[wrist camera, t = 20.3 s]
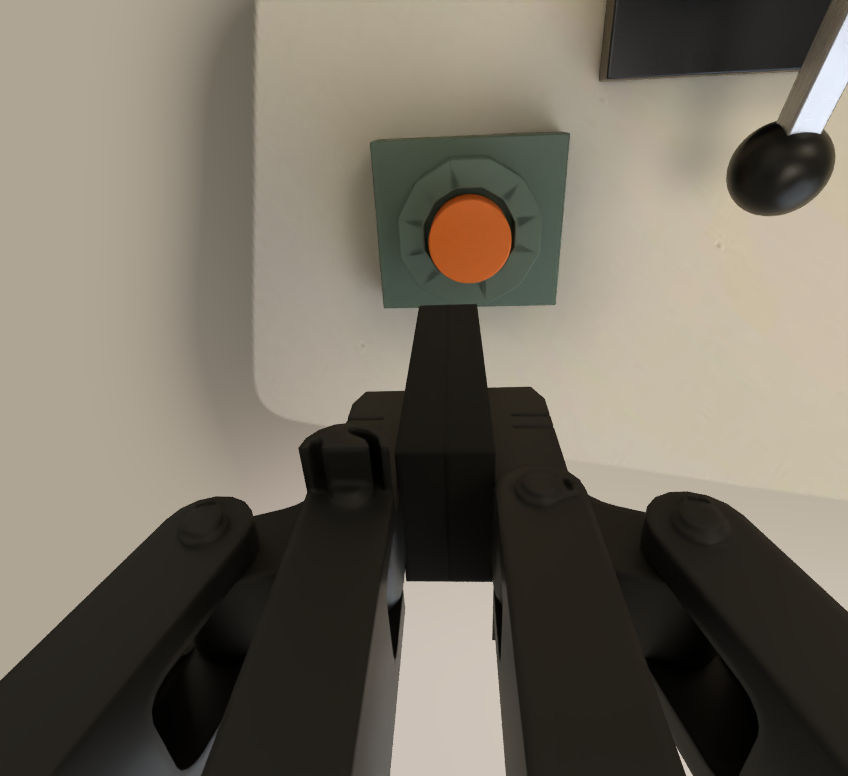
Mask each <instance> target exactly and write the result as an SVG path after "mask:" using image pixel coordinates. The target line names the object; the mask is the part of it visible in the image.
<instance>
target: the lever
mask: <svg viewBox="0 0 848 776" xmlns="http://www.w3.org/2000/svg"><path fill="white" fill-rule="evenodd" d="M847 84H848V0H832V1H831V3H830V5H829V7H828V10H827V12H826V14H825V16H824V18H823V21H822V23H821V25H820V27H819V30H818V32H817V34H816V36H815V38H814V41H813V43H812V45H811V47H810V49H809V52H808V54H807V56H806V58H805V60H804V63H803V65H802V67H801V69H800V71H799V74H798V76H797V78H796V80H795V82H794V85H793V87H792V89H791V91H790V93H789V96H788V98H787V100H786V102H785V104H784V107H783V109H782V111H781V113H780V115H779V118H778V120H777V121H775V122H772V123H769V124H767V125H765V126H763V127H761V128H759V129H757V130H756V131H754V132H753V133H752V134H750V135H749V136H748V137H747V138H746V139H745V140H744V141H743V142H742V143H741V144H740V145H739V146H738V148H737V149H736V150H735V152H734V154H733V155H732V157H731V160H730V162H729V165H728V169H727V177H726V182H727V188H728V191H729V194H730V196H731V198H732V199H733V200H734V202H735V203H736V204H737V205H738V206H739V207H741V208H742V209H743V210H745V211H747V212H749V213H752V214H755V215H761V216H777V215H783V214H786V213H789V212H792V211H795V210H797V209H799V208H801V207H803V206H804V205H806V204H807V203H809V202H810V201H811V200H813V199H814V198H815V197H816V196H817V195H818V194H819V193H820V192H821V191H822V189H823V188H824V187H825V186H826V184H827V182H828V181H829V179H830V177H831V174H832V172H833V169H834V164H835V149H834V145H833V142H832V140H831V138H830V136H829V135H828V134H827V132H826V131H825V130H824V127H825V125H826V123H827V122H828V120H829V118H830V116H831V114H832V112H833V110H834V108H835V106H836V104H837V103H838V101H839V99H840V97H841V95H842V93H843V91H844V89H845V87H846V86H847Z"/></svg>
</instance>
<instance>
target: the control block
mask: <svg viewBox="0 0 848 776" xmlns="http://www.w3.org/2000/svg"><path fill="white" fill-rule="evenodd" d="M569 139H570V133H566V132H540V133H517V134H494V135H472V136H449V137H426V138H404V139H381V140H375V141H372V142H370V147H371V159H372V171H373V184H374V196H375V208H376V220H377V232H378V244H379V256H380V268H381V280H382V292H383V304H384V308H419V306H420V305H453V304H477V306H527V305H555V304H556V293H557V281H558V269H559V257H560V245H561V233H562V222H563V210H564V198H565V186H566V174H567V162H568V151H569ZM464 194H477V195H481V196H484V197H487V198H489V199H490V200H492V201H493V202H495V203H496V204H497V205H498V206H499V208H500V209H501V210H502V212H503V213H504V215H505V218H506V220H507V222H508V224H509V227H510V230H511V238H512V242H511V249H510V253H509V256H508V258H507V260H506V262H505V264H504V265H503V266H502V268H501V269H500V270H499V271H498V272H497V273H496V274H494V275H493V276H491V277H490V278H488V279H486V280H484V281H481V282H476V283H461V282H457V281H454V280H452V279H450V278H448V277H447V276H445V275H444V274H443V273H441V272H440V271H439V269H438V268H437V267H436V266H435V264H434V262H433V260H432V258H431V255H430V251H429V233H430V229H431V225H432V222H433V219H434V217H435V215H436V213H437V212H438V210H439V209H440V208H441V207H442V206H443V205H444V204H445V203H446V202H447V201H449V200H450V199H452V198H454V197H457V196H459V195H464Z"/></svg>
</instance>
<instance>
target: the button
mask: <svg viewBox="0 0 848 776" xmlns="http://www.w3.org/2000/svg"><path fill="white" fill-rule="evenodd" d="M511 242H512V238H511V230H510V227H509V224H508V222H507V220H506V218H505V215H504V213H503V212H502V210H501V209H500V208H499V206H498V205H497V204H496V203H495V202H493V201H492V200H490V199H489V198H487V197H484V196H481V195H477V194H464V195H459V196H457V197H454V198H452V199H450V200H449V201H447V202H446V203H445V204H444V205H443V206H442V207H441V208H440V209H439V210H438V212H437V213H436V215H435V217H434V219H433V222H432V225H431V229H430V233H429V251H430V255H431V258H432V260H433V262H434V264H435V266H436V267H437V268H438V269H439V271H440V272H441V273H443V274H444V275H445V276H447V277H448V278H450V279H452V280H454V281H457V282H461V283H476V282H481V281H484V280H486V279H488V278H490V277H491V276H493V275H494V274H496V273H497V272H498V271H499V270H500V269H501V268H502V266H503V265H504V264H505V262H506V260H507V258H508V256H509V253H510V249H511Z"/></svg>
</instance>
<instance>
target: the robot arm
mask: <svg viewBox="0 0 848 776" xmlns="http://www.w3.org/2000/svg"><path fill="white" fill-rule="evenodd" d="M299 453H300V458H301V463H302V468H303V473H304V478H305V483H306V488H307V495H306V498H305V500H304V501H303V502H301V503H299V504H297V505H295V506H292V507H289V508H286V509H282V510H278V511H274V512H269V513H265V514H261V515H256V516H253V514H252V510H251V509H250V508H249V506H248V505H247V504H246V503H245V502H244V501H242V500H239V499H236V498H234V497H212V498H207V499H203V500H199V501H196V502H194V503H192V504H190V505H188V506H185V507H183V508H181V509H180V510H178V511H177V512H176V513H174V514H173V515H172V516H170V517H169V518H168V519H166V520H165V521H164V522H163V523H162V524H161V525H160V526H159V527H158V528H157V529H156V530H155V531H154V532H153V533H152V534H151V535H150V536H149V537H148V538H147V539H146V540H145V541H144V542H143V543H142V544H141V545H140V546H139V547H137V548H136V549H135V551H133V552H132V553H131V554H130V555H129V556H128V557H127V559H125V560H124V561H123V562H122V563H121V564H120V565H119V566H118V567H117V568H116V569H115V570H114V571H113V572H112V573H111V574H110V575H109V576H108V577H107V578H106V579H105V580H104V581H103V582H101V584H99V585H98V586H97V587H96V588H95V589H94V590H93V591H92V592H91V593H90V594H89V595H88V596H87V597H86V598H85V599H84V600H83V601H82V602H81V603H80V604H79V605H78V606H77V607H76V608H75V609H74V610H73V611H72V612H71V613H69V614H68V615H67V616H66V617H65V618H64V619H63V620H62V621H61V622H60V623H59V624H58V625H57V626H56V627H55V628H54V629H53V630H52V631H51V632H50V633H49V634H48V635H47V636H46V637H45V638H44V639H43V640H42V641H41V642H40V643H39V644H38V645H37V646H36V647H35V648H34V649H32V650H31V651H30V652H29V653H28V654H27V655H26V656H25V657H24V658H23V659H22V660H21V661H20V662H19V663H18V664H17V665H16V666H15V667H14V668H13V669H12V670H11V671H10V672H9V673H8V674H7V675H6V676H5V677H4V678H3V679H2V680H0V776H390V768H391V757H392V745H393V735H394V724H395V713H396V701H397V691H398V681H399V670H400V659H401V648H402V636H403V625H404V615H405V604H404V594H403V583H404V573H405V572H406V581H453V582H454V581H456V582H461V581H462V582H464V581H466V582H493V585H494V593H493V594H494V595H493V635H492V636H493V637H492V640H496V653H497V665H498V678H499V691H500V704H501V716H502V729H503V742H504V753H505V754H504V755H505V767H506V776H686V774H685V771H684V769H683V766H682V763H681V760H680V757H679V754H678V751H677V749H678V750H679V752H680V754H681V755H682V757H683V759H684V760H685V762H686V764H687V766H688V768H689V769H690V771H691V773H692V774H693V776H848V612H847V611H846V610H845V609H844V608H843V607H842V606H841V605H840V604H839V603H838V602H836V601H835V600H834V599H833V598H832V597H831V596H830V595H829V594H828V593H827V592H826V591H825V590H824V589H823V588H821V587H820V586H819V585H818V584H817V583H816V582H815V581H814V580H813V579H812V578H810V576H808V575H807V574H806V573H805V572H804V571H803V570H802V569H801V568H800V567H799V566H798V565H797V564H796V563H794V562H793V561H792V560H791V559H790V558H789V557H788V556H787V555H786V554H785V553H784V552H782V551H781V550H780V549H779V548H778V547H777V546H776V545H775V544H774V543H773V542H772V541H771V540H770V539H768V538H767V537H766V536H765V535H764V534H763V533H762V532H761V531H760V530H759V529H757V527H756V526H754V525H753V524H752V523H751V522H750V521H749V520H748V519H747V518H746V517H745V516H744V515H742V514H741V513H739V512H738V511H737V510H735V509H734V508H732V507H731V506H729V505H728V504H726V503H724V502H722V501H719V500H717V499H714V498H712V497H710V496H707V495H702V494H697V493H691V492H668V493H666V494H663V495H660V496H658V497H655V498H654V499H653V500H652V502H651V503H650V504H649V505H648V506H647V509H646V512H641V511H637V510H632V509H628V508H623V507H618V506H615V505H611V504H608V503H605V502H602V501H600V500H597V499H595V498H593V497H591V496H589V495H588V494H587V491H586V489H585V487H584V486H583V484H582V483H581V481H580V480H579V479H578V478H576V477H575V476H574V475H572V474H571V473H569V472H568V470H567V467H566V464H565V461H564V458H563V455H562V451H561V448H560V445H559V442H558V439H557V436H556V433H555V430H554V428H553V423H552V420H551V417H550V416H549V411H548V408H547V405H546V402H545V399H544V398H543V397H542V396H541V395H540V394H538V393H537V392H536V391H535V390H534V389H533V388H532V387H500V388H487V380H486V373H485V365H484V357H483V349H482V341H481V333H480V325H479V317H478V309H477V304H453V305H420V306H419V311H418V317H417V323H416V329H415V335H414V341H413V346H412V352H411V358H410V364H409V370H408V376H407V382H406V388H405V391H380V392H365V393H364V394H363V395H362V396H361V397H360V398H359V399H358V400H357V401H356V402H354V403H353V405H352V408H351V411H350V413H349V416H348V421H347V422H346V423H345V424H337V425H332V426H329V427H326V428H324V429H321V430H318V431H317V432H315V433H314V434H312V435H310V436H309V437H307V438H306V439H305V440H304V442H303V443H302V444H301V445H300V447H299ZM676 747H677V748H676Z"/></svg>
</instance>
